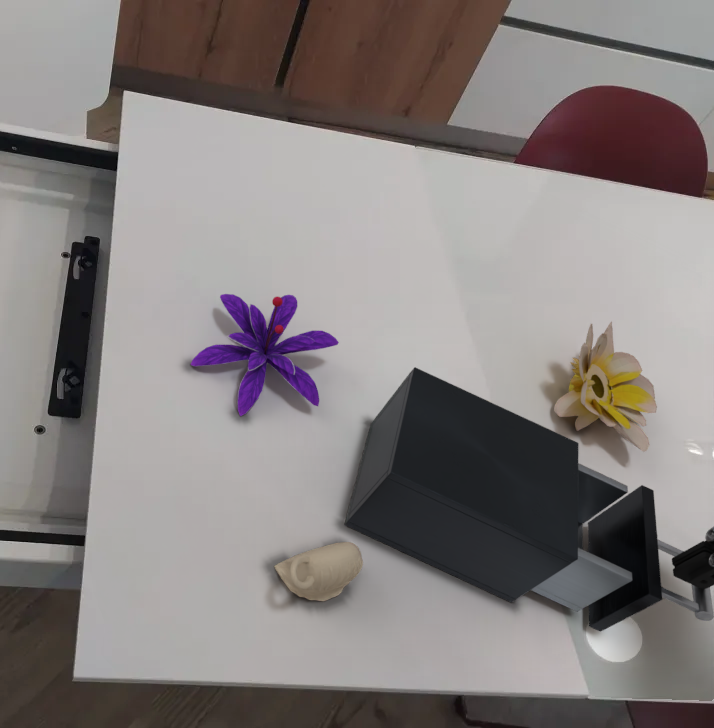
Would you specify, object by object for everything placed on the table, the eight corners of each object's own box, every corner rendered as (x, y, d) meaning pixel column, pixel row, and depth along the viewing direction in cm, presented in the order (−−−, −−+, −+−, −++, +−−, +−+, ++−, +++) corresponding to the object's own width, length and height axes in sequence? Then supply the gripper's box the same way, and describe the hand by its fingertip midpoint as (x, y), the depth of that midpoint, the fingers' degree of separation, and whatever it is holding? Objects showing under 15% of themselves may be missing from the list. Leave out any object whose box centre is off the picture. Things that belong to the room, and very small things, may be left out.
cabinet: (519, 492, 75) (578, 442, 68) (511, 602, 67) (578, 559, 59) (370, 423, 75) (414, 366, 68) (344, 525, 67) (390, 472, 59)
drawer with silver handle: (664, 557, 74) (725, 523, 68) (673, 666, 66) (742, 637, 60) (457, 462, 74) (500, 419, 68) (443, 558, 66) (490, 520, 60)
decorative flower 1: (352, 328, 78) (372, 289, 72) (299, 448, 71) (316, 418, 65) (233, 275, 80) (242, 232, 73) (170, 388, 73) (173, 352, 66)
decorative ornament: (360, 590, 63) (388, 564, 59) (275, 614, 60) (298, 589, 56) (341, 546, 65) (366, 519, 61) (257, 567, 62) (278, 540, 58)
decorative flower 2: (629, 480, 78) (678, 410, 71) (528, 425, 82) (566, 355, 76) (662, 414, 88) (707, 348, 81) (570, 368, 92) (606, 303, 86)
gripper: (963, 590, 47) (736, 672, 61) (896, 419, 57) (714, 522, 71) (856, 541, 47) (654, 634, 61) (808, 378, 57) (643, 490, 71)
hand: (687, 574), depth 66 cm, fingers closed
